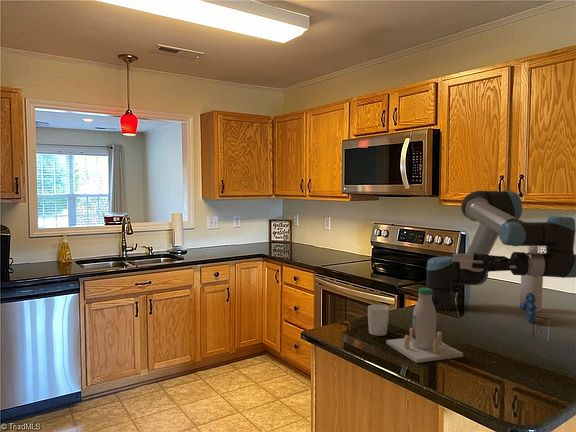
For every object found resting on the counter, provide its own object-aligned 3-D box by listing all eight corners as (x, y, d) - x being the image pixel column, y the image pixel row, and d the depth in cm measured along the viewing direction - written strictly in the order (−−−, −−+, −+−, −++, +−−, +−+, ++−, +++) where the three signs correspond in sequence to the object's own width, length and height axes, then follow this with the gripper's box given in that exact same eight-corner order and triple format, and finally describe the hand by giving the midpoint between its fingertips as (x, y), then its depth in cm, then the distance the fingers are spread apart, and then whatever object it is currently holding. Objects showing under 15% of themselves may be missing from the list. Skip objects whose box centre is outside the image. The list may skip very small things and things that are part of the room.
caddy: (386, 343, 153) (386, 328, 153) (428, 338, 159) (429, 324, 159) (416, 362, 136) (417, 345, 136) (462, 356, 142) (463, 340, 142)
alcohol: (544, 310, 200) (547, 246, 198) (536, 313, 194) (539, 247, 193) (524, 306, 207) (527, 244, 205) (516, 309, 201) (519, 245, 200)
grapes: (517, 316, 190) (518, 289, 189) (534, 318, 187) (536, 291, 186) (519, 323, 179) (520, 295, 178) (538, 325, 176) (539, 296, 176)
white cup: (389, 331, 167) (390, 305, 166) (387, 337, 160) (387, 311, 159) (368, 328, 170) (369, 303, 169) (365, 334, 162) (366, 308, 162)
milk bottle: (439, 346, 148) (441, 288, 147) (429, 352, 142) (431, 292, 141) (418, 340, 153) (420, 285, 152) (407, 346, 148) (409, 288, 146)
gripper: (539, 283, 128) (463, 279, 132) (513, 268, 152) (450, 265, 156) (541, 258, 127) (464, 255, 131) (514, 247, 151) (450, 244, 156)
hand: (456, 260), depth 144 cm, fingers open, 13 cm apart
